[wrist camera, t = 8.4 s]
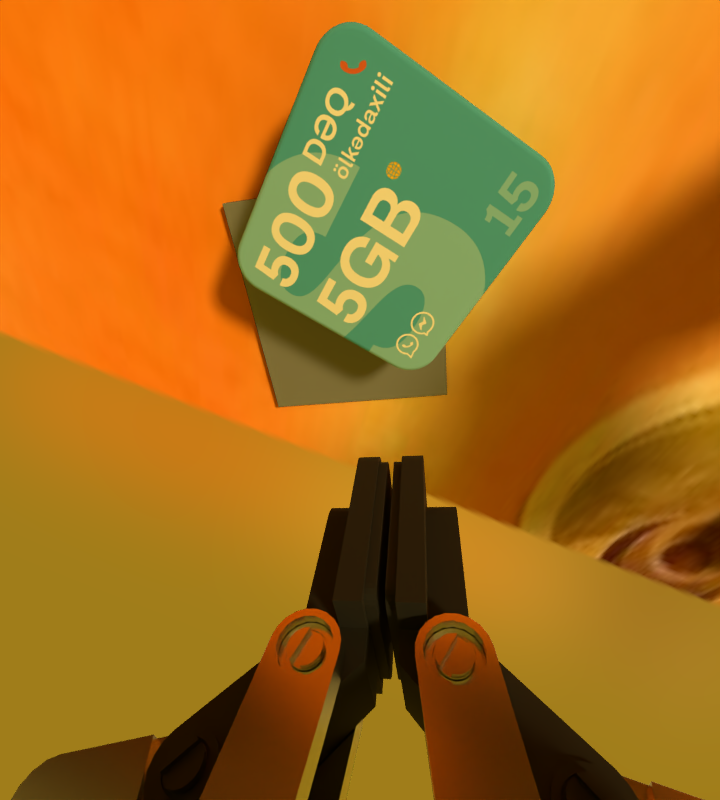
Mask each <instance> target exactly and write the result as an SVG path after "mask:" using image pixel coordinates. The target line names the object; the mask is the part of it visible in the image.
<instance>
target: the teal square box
mask: <svg viewBox="0 0 720 800" xmlns="http://www.w3.org/2000/svg"><path fill="white" fill-rule="evenodd" d="M554 187H555V181H554V175H553V171H552V168H551V166H550V165H549V163H548V162H547V160H546V159H545V158H544V157H543V156H541V155H540V154H539V153H537V152H536V151H535V150H533V149H532V148H531V147H529V146H528V145H527V144H525V143H524V142H523V141H521V140H520V139H519V138H517V137H516V136H515V135H513V134H512V133H510V132H509V131H508V130H506V129H505V128H504V127H502V126H501V125H500V124H498V123H497V122H496V121H494V120H493V119H492V118H490V117H489V116H488V115H486V114H485V113H484V112H482V111H481V110H480V109H478V108H477V107H476V106H474V105H473V104H472V103H470V102H469V101H468V100H466V99H465V98H464V97H462V96H461V95H459V94H458V93H457V92H455V91H454V90H453V89H451V88H450V87H449V86H447V85H446V84H445V83H443V82H442V81H441V80H439V79H438V78H437V77H435V76H434V75H433V74H431V73H430V72H429V71H427V70H426V69H425V68H423V67H422V66H421V65H419V64H418V63H417V62H415V61H414V60H413V59H411V58H410V57H409V56H407V55H406V54H404V53H403V52H402V51H400V50H399V49H398V48H396V47H395V46H394V45H392V44H391V43H390V42H388V41H387V40H386V39H384V38H383V37H382V36H380V35H379V34H378V33H376V32H375V31H374V30H372V29H371V28H369V27H368V26H366V25H363V24H361V23H356V22H346V23H342V24H339V25H337V26H335V27H333V28H332V29H330V30H329V31H328V32H327V33H326V34H325V35H324V36H323V37H322V38H321V40H320V41H319V43H318V44H317V47H316V49H315V51H314V54H313V56H312V59H311V61H310V64H309V66H308V69H307V72H306V74H305V77H304V79H303V82H302V84H301V87H300V89H299V92H298V95H297V97H296V100H295V102H294V105H293V107H292V110H291V113H290V115H289V118H288V120H287V123H286V125H285V128H284V131H283V133H282V136H281V138H280V141H279V143H278V146H277V149H276V151H275V154H274V156H273V159H272V161H271V164H270V166H269V169H268V172H267V174H266V177H265V179H264V182H263V184H262V187H261V190H260V192H259V195H258V197H257V200H256V202H255V205H254V208H253V210H252V213H251V215H250V218H249V220H248V223H247V225H246V228H245V231H244V233H243V236H242V238H241V241H240V244H239V247H238V263H239V267H240V270H241V272H242V274H243V275H244V277H245V278H246V279H247V281H248V282H249V283H250V284H251V285H253V286H254V287H255V288H257V289H259V290H260V291H262V292H264V293H266V294H268V295H269V296H271V297H273V298H275V299H276V300H278V301H280V302H282V303H283V304H285V305H287V306H289V307H290V308H292V309H294V310H296V311H298V312H299V313H301V314H303V315H305V316H306V317H308V318H310V319H312V320H313V321H315V322H317V323H319V324H320V325H322V326H324V327H326V328H328V329H329V330H331V331H333V332H335V333H336V334H338V335H340V336H342V337H343V338H345V339H347V340H349V341H350V342H352V343H354V344H356V345H358V346H359V347H361V348H363V349H365V350H366V351H368V352H370V353H372V354H373V355H375V356H377V357H379V358H380V359H382V360H384V361H386V362H388V363H389V364H391V365H393V366H395V367H397V368H399V369H403V370H416V369H420V368H422V367H425V366H426V365H428V364H429V363H431V362H432V361H433V360H434V359H435V357H436V356H437V355H438V353H439V352H440V351H441V349H442V348H443V347H444V345H445V344H446V343H447V342H448V340H449V339H450V338H451V336H452V335H453V334H454V332H455V331H456V330H457V328H458V327H459V326H460V324H461V323H462V322H463V320H464V319H465V318H466V316H467V315H468V314H469V312H470V311H471V310H472V309H473V307H474V306H475V305H476V303H477V302H478V301H479V299H480V298H481V297H482V295H483V294H484V293H485V291H486V290H487V289H488V287H489V286H490V285H491V283H492V282H493V281H494V280H495V278H496V277H497V276H498V274H499V273H500V272H501V270H502V269H503V268H504V266H505V265H506V264H507V262H508V261H509V260H510V258H511V257H512V256H513V254H514V253H515V252H516V250H517V249H518V248H519V247H520V245H521V244H522V243H523V241H524V240H525V239H526V237H527V236H528V235H529V233H530V232H531V231H532V229H533V228H534V227H535V225H536V224H537V223H538V221H539V220H540V219H541V217H542V216H543V215H544V213H545V212H546V211H547V209H548V207H549V205H550V203H551V201H552V198H553V194H554Z"/></svg>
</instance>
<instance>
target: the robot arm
mask: <svg viewBox="0 0 720 800" xmlns="http://www.w3.org/2000/svg"><path fill="white" fill-rule="evenodd" d="M393 651H394V657H395V663H396V668H397V674H398V679H400V680H401V683H402V689H403V694H404V700H405V706H406V709H407V711H408V712H409V713H410V714H411V716H412V717H413V718H414V720H415V721H416V722H417V723H418V724H419V726H420V727H421V728H422V730H423V731H424V732H425V738H426V746H427V753H428V760H429V768H430V775H431V782H432V789H433V797H434V800H703V799H700V798H697V797H694V796H692V795H689V794H686V793H683V792H680V791H677V790H674V789H672V788H669V787H666V786H663V785H660V784H657V783H655V782H651V783H650V785H646V784H643V783H641V782H637V781H635V780H632V779H629V778H626V777H623V776H621V775H620V774H619V773H618V772H617V770H615V768H614V767H613V766H611V765H610V764H609V763H608V762H607V761H606V760H605V759H604V758H603V757H602V756H601V755H600V754H598V753H597V752H596V751H595V750H594V749H593V748H592V747H591V746H590V745H589V744H588V743H587V742H585V741H584V740H583V739H582V738H581V737H580V736H579V735H578V734H577V733H576V732H575V731H573V730H572V729H571V728H570V727H569V726H568V725H567V724H566V723H565V722H564V721H563V720H562V719H561V718H559V717H558V716H557V715H556V714H555V713H554V712H553V711H552V710H551V709H550V708H548V706H546V705H545V704H544V703H543V702H542V701H541V700H540V699H539V698H538V697H537V696H536V695H534V694H533V693H532V692H531V691H530V690H529V689H528V688H527V687H526V686H525V685H524V684H523V683H522V682H520V681H519V680H518V679H517V678H516V677H515V676H514V675H513V674H512V673H511V672H510V671H508V670H507V669H506V668H505V667H504V666H503V665H502V664H501V663H500V662H499V661H498V658H497V654H496V651H495V648H494V645H493V643H492V641H491V639H490V637H489V635H488V634H487V632H486V631H485V630H484V629H483V628H482V627H481V625H480V624H478V623H477V622H475V621H474V620H472V619H471V618H469V616H468V608H467V598H466V589H465V580H464V571H463V562H462V553H461V544H460V535H459V526H458V517H457V509H456V507H427V500H426V486H425V473H424V459H423V456H402V462H394V471H393V485H391V478H390V470H389V464H388V462H381V459H380V457H364V458H359V460H358V464H357V470H356V475H355V481H354V486H353V491H352V497H351V502H350V507H349V508H332V509H331V511H330V513H329V516H328V520H327V524H326V528H325V532H324V537H323V541H322V545H321V550H320V553H319V558H318V562H317V566H316V570H315V575H314V579H313V583H312V587H311V592H310V595H309V600H308V604H307V608H306V609H303V610H300V611H296V612H294V613H293V614H291V615H289V616H288V617H286V618H285V619H284V620H283V621H282V622H281V623H280V624H279V625H278V626H277V628H276V629H275V631H274V633H273V634H272V636H271V638H270V640H269V643H268V645H267V647H266V650H265V652H264V654H263V656H262V658H261V661H260V662H259V663H258V664H256V665H255V666H254V667H253V668H251V669H250V670H249V671H248V672H246V674H244V675H243V676H242V677H240V678H239V679H238V680H236V681H235V682H234V683H233V684H231V685H230V686H229V687H228V688H226V689H225V690H224V691H223V692H221V693H220V694H219V695H218V696H216V697H215V698H214V699H213V700H211V701H210V702H209V703H208V704H206V705H205V706H204V707H203V708H201V709H200V710H199V711H198V712H196V713H195V714H194V715H193V716H191V717H190V718H189V719H188V720H186V721H185V722H184V723H183V724H181V725H180V726H179V727H178V728H176V729H175V730H174V731H173V732H172V733H171V734H170V735H169V736H166V737H162V738H156V737H155V736H154V735H149V736H145V737H140V738H136V739H131V740H126V741H121V742H116V743H111V744H107V745H102V746H98V747H93V748H88V749H83V750H78V751H73V752H69V753H64V754H60V755H57V756H55V757H53V758H50V759H48V760H46V761H45V762H43V763H42V764H41V765H40V766H38V767H37V768H36V769H34V770H33V771H32V772H31V773H30V774H29V775H28V776H27V778H26V779H25V780H24V781H23V782H22V783H21V784H20V786H19V787H18V789H17V790H16V792H15V794H14V795H13V797H12V799H11V800H346V799H347V794H348V790H349V785H350V781H351V776H352V771H353V767H354V762H355V758H356V753H357V749H358V744H359V739H360V735H361V731H362V723H363V719H364V718H365V717H366V715H367V714H368V713H369V712H370V711H371V710H372V709H373V708H374V707H375V705H376V694H382V688H383V679H391V677H392V664H393Z"/></svg>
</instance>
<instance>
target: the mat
mask: <svg viewBox="0 0 720 800" xmlns="http://www.w3.org/2000/svg"><path fill="white" fill-rule="evenodd" d="M256 200H257V198H256V199H249V200H243V201H236V202H229V203H224V204H223V207H224V211H225V215H226V218H227V222H228V225H229V229H230V233H231V236H232V240H233V244H234V247H235V251H236V254H237V258H238V247H239V244H240V241H241V238H242V236H243V233H244V231H245V228H246V225H247V223H248V220H249V218H250V215H251V213H252V210H253V208H254V205H255V202H256ZM242 276H243V280H244V283H245V287H246V290H247V294H248V298H249V301H250V305H251V309H252V312H253V316H254V319H255V323H256V327H257V330H258V334H259V337H260V341H261V345H262V348H263V352H264V356H265V359H266V363H267V366H268V370H269V374H270V377H271V381H272V384H273V388H274V392H275V395H276V399H277V402H278V406H279V407H284V406H298V405H311V404H325V403H339V402H352V401H366V400H380V399H394V398H407V397H421V396H435V395H447V378H446V347H445V345H444V347H443V348H442V349H441V351H440V352H439V353H438V355H437V356H436V357H435V359H434V360H433V361H432V362H431V363H429V364H428V365H426V366H425V367H422V368H420V369H416V370H403V369H399V368H397V367H395V366H393V365H391V364H389V363H388V362H386V361H384V360H382V359H380V358H379V357H377V356H375V355H373V354H372V353H370V352H368V351H366V350H365V349H363V348H361V347H359V346H358V345H356V344H354V343H352V342H350V341H349V340H347V339H345V338H343V337H342V336H340V335H338V334H336V333H335V332H333V331H331V330H329V329H328V328H326V327H324V326H322V325H320V324H319V323H317V322H315V321H313V320H312V319H310V318H308V317H306V316H305V315H303V314H301V313H299V312H298V311H296V310H294V309H292V308H290V307H289V306H287V305H285V304H283V303H282V302H280V301H278V300H276V299H275V298H273V297H271V296H269V295H268V294H266V293H264V292H262V291H260V290H259V289H257V288H255V287H254V286H253V285H251V284H250V283H249V282H248V281H247V279H246V278H245V277H244V275H243V274H242Z"/></svg>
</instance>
